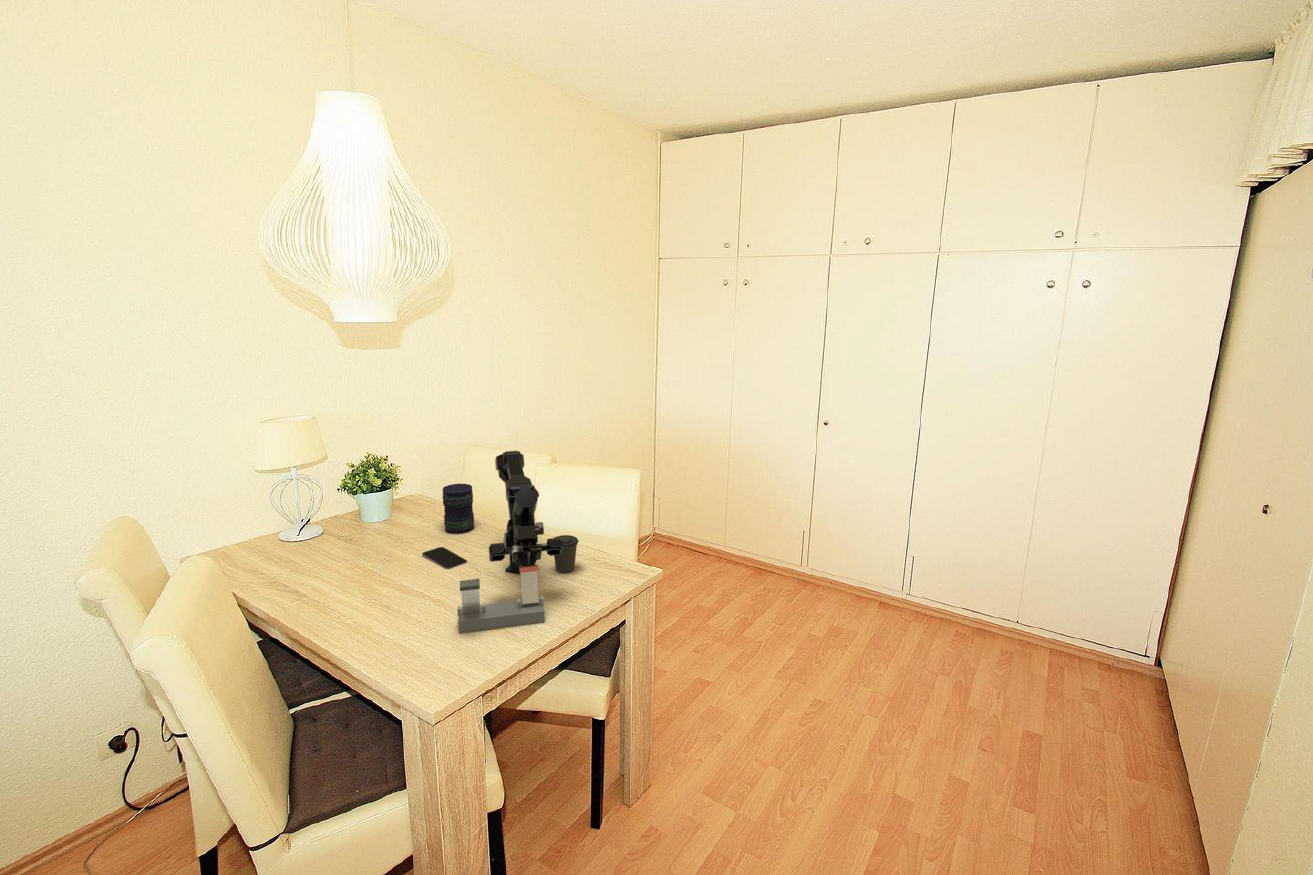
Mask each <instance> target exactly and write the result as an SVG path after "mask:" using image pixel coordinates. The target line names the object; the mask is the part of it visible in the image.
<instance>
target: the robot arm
mask: <svg viewBox="0 0 1313 875" xmlns="http://www.w3.org/2000/svg"><path fill="white" fill-rule="evenodd" d="M524 456H525V455H524V454H523V453H521V451H519V450H508V451H507V450H506V451H503V452H502V454H499V455H497V456H496V457H495V459H494V462H495V463H494V466H495V471H497V473H498V478H499V479H500V480H501V481H502V482H503V483H504V485H505V486H504V487H505V498H506V501H507V507H508V516H509V519H508V521H507V524H506V529H505V530H506V532H504V534H503V535H504V536H503V542H498V543H497V542H496V543H491V544H490V545H489V546H488V553H489V555H488V557H489V562H490V563H491V562H492V563H493V562H502V561H503V560H504V559H505V558H506V556H507V555H509V565H508V566H507V567H506V568H505V570H504V571H505V572H508V573H515V574H521V573H520V569H519V567H523V566H532V565H536V564H537V561H539V560H541V559H542V552H546V555H548V556H553V557H554V555H560V554H562V551H563V540H562V539H561V538H554V537H551V538H550V537H549V538H547V540H546V543H538V541H539V540H538V536H541V535H544V534H545V530H544V529H545V528H544V522H543V521H540V522H536V517H535V513H536V510H537V505H538V500H539V498H540V492H539V491H538V489H537V488H536V486H535V485H534V484H533V482H532V480H531V478H529V477H528V476H526V475H525V473H524V467H525V457H524Z"/></svg>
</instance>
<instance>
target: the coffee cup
mask: <svg viewBox="0 0 1313 875" xmlns="http://www.w3.org/2000/svg"><path fill="white" fill-rule="evenodd" d="M553 538H561V539H562V540H563V551H562V554H560V555H553V559H554V566H555V571H556V572H557V573H559V574H569V573H573V572H574V571H575V565H576V556H577V555H576V554H577V546H578V543H579V539H578V537H577V536H574V535H571V534H570V535H569V534H563V535H561V534H560V535H557V536H554V537H553ZM573 570H574V571H573Z"/></svg>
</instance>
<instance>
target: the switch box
mask: <svg viewBox="0 0 1313 875" xmlns="http://www.w3.org/2000/svg"><path fill="white" fill-rule="evenodd" d="M544 606H545V599H544V596H543V595H541V596H540V595H539V602H536V603H528V604H522V599H521V598H517V599H516V600H511V601H510V600H509V601H502V602H495V603H493V602H492V603H486V602H482V603H481V604H480V612H473V613H465V614H463V610H462V605H457V609H456V610H457V617H458V620H457V626H458V634H464V633H465V634H466V633H472V632H481V631H487V630H489V631H490V630H496V629H502V628H511V627H518V626H525V625H533V624H539V623H545V608H544Z"/></svg>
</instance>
